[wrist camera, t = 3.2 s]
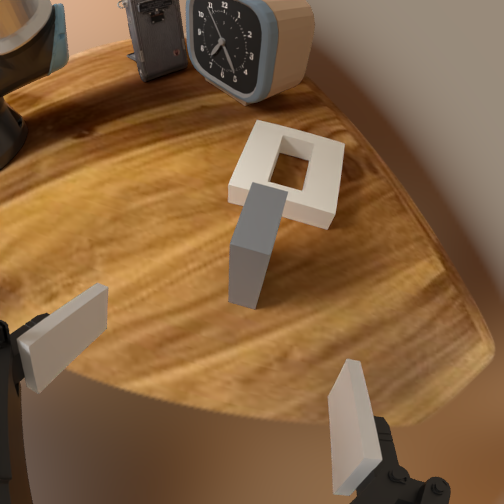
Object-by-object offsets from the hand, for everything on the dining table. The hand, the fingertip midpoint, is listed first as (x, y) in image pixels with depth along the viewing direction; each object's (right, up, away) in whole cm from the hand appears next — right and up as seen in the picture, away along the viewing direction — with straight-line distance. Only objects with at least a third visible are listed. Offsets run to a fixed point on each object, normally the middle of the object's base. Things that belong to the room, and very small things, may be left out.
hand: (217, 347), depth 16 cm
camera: (-20, +44, +41) cm, 63 cm away
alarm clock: (0, +35, +37) cm, 51 cm away
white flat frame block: (+7, +15, +27) cm, 32 cm away
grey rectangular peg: (+1, +2, +20) cm, 20 cm away
